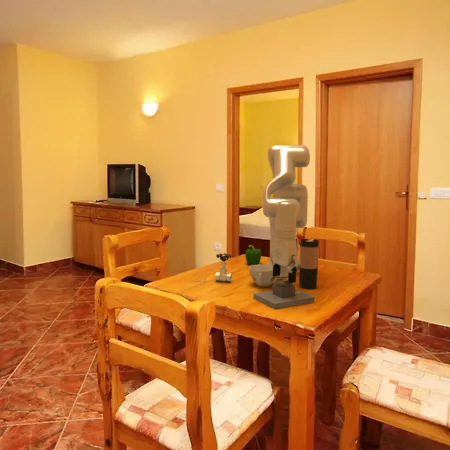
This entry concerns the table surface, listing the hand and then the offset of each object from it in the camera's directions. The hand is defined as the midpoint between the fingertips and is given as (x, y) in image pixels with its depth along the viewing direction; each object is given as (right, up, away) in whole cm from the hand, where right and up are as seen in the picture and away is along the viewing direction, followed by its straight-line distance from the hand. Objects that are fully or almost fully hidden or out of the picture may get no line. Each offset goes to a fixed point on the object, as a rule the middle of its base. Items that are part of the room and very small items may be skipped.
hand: (284, 279), depth 155 cm
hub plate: (0, -8, 0) cm, 8 cm away
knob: (0, -6, 0) cm, 6 cm away
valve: (-23, -5, +25) cm, 34 cm away
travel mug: (+13, -6, +19) cm, 23 cm away
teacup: (-6, -6, +20) cm, 21 cm away
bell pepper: (-7, 0, +60) cm, 60 cm away
